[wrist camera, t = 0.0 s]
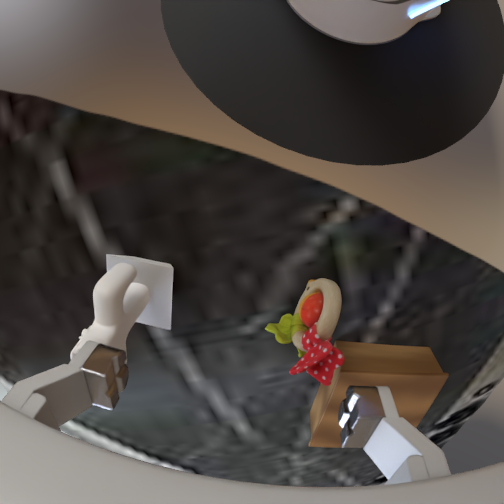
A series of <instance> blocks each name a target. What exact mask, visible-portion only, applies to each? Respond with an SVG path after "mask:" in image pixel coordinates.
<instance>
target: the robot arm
mask: <svg viewBox="0 0 504 504" xmlns="http://www.w3.org/2000/svg"><path fill="white" fill-rule="evenodd" d="M286 1H287V2H288V4H289V5H290V6H291V8H292V9H293V10H294V11H295V13H296V14H297V15H298V16H299V17H300V18H301V19H302V20H304V21H305V22H306V23H307V24H309V25H310V26H312V27H313V28H315V29H316V30H318V31H320V32H321V33H323V34H325V35H327V36H330V37H332V38H335V39H337V40H341V41H344V42H348V43H353V44H360V45H377V44H384V43H388V42H391V41H394V40H396V39H398V38H400V37H402V36H403V35H405V34H406V33H407V32H408V31H409V30H410V29H411V28H412V27H413V26H414V25H415V24H417V23H418V22H422V21H427V20H430V19H433V18H435V17H437V16H438V15H439V13H440V12H441V7H440V4H442V3H444V2H446V1H448V0H286ZM126 359H127V357H126V352H125V351H124V350H122V349H118V348H115V347H112V346H108V345H105V344H102V343H97V342H94V341H91V340H89V341H86V343H85V344H84V345H83V346H82V348H81V349H80V350H79V351H78V353H77V354H76V355H75V356H74V358H73V359H72V360H71V361H70V363H69V364H68V365H67V364H63V365H60V366H58V367H55V368H53V369H50V370H48V371H45V372H42V373H40V374H37V375H35V376H32V377H29V378H27V379H24V380H21V381H19V382H17V383H16V384H15V385H14V386H13V387H12V389H11V390H10V391H9V392H8V393H7V395H6V396H5V397H4V398H3V400H2V401H0V504H504V462H500V463H497V464H493V465H490V466H486V467H483V468H479V469H475V470H471V471H467V472H463V473H458V474H454V475H451V473H450V470H449V467H448V464H447V461H446V458H445V455H444V452H443V451H442V450H441V449H440V448H439V447H438V446H436V445H435V444H434V443H433V442H432V441H430V440H429V439H428V438H427V437H426V436H424V435H423V434H422V433H421V432H420V431H418V430H417V429H416V428H415V427H414V426H413V425H411V424H410V423H409V422H408V421H407V420H405V419H404V418H403V417H399V414H398V411H397V408H396V405H395V402H394V400H393V397H392V394H391V391H390V388H389V387H388V386H356V385H350V386H349V387H348V388H347V391H346V397H347V398H345V399H344V400H342V402H341V404H340V407H339V412H338V422H339V425H340V426H341V427H342V428H343V429H342V431H341V433H340V437H341V444H342V447H346V448H363V449H364V450H365V452H366V453H367V454H368V455H369V457H370V458H371V459H372V460H373V462H374V463H375V464H376V465H377V467H378V468H379V469H380V470H381V472H382V473H383V474H384V475H385V476H386V478H387V479H388V481H387V482H386V483H385V484H384V485H373V486H356V487H298V486H281V485H268V484H258V483H249V482H241V481H234V480H227V479H220V478H214V477H209V476H203V475H198V474H193V473H188V472H184V471H179V470H175V469H171V468H167V467H163V466H159V465H155V464H151V463H148V462H144V461H141V460H137V459H134V458H131V457H127V456H124V455H121V454H118V453H115V452H112V451H109V450H106V449H103V448H101V447H98V446H95V445H92V444H90V443H87V442H85V441H82V440H80V439H77V438H75V437H72V436H70V435H67V434H65V433H63V432H61V430H60V428H59V426H61V425H62V424H64V423H66V422H67V421H69V420H71V419H72V418H74V417H75V416H77V415H79V414H80V413H82V412H84V411H85V410H87V409H88V408H90V407H92V406H93V405H96V406H99V407H103V408H106V409H109V410H113V409H114V408H115V406H116V404H117V402H118V400H119V394H118V393H119V392H121V391H123V390H124V389H125V387H126V385H127V381H128V376H129V371H128V367H127V365H126V364H125V363H124V362H125V361H126Z"/></svg>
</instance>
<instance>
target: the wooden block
mask: <svg viewBox="0 0 504 504" xmlns="http://www.w3.org/2000/svg"><path fill="white" fill-rule="evenodd" d="M333 347H335V348H337V349H339V350H340V351H341V352H342V353H343V356H344V358H345V361H344V364H343V365H341V366H340V367H338V368H336V369H335V370H334V374H333V378H332V382H331V384H330V385H329V386H325V385H323V384H322V383H321V384H320V387H319V389H318V392H317V395H316V397H315V400H314V403H313V405H312V408H311V411H310V421H311V440H310V442H309V446H311V447H342V444H341V437H340V433H341V431H342V429H343V428H342V427H341V426H340V425H339V422H338V412H339V407H340V404H341V402H342V400H344V399H345V398H347V397H346V391H347V388H348V387H349V386H350V385H356V386H388V387H389V388H390V391H391V394H392V397H393V400H394V402H395V405H396V408H397V411H398V414H399V417H403V418H404V419H405V420H407V421H408V422H409V423H410V424H411V425H413V426H414V427H415V428H416V427H417V425H418V424H419V423H420V421H421V420H422V418H423V417H424V415H425V414H426V412H427V411H428V409H429V407H430V406H431V404H432V403H433V401H434V400H435V398H436V396H437V395H438V393H439V391H440V390H441V388H442V386H443V385H444V383H445V381H446V380H447V378H448V376H449V375H448V373H443V371H442V369H441V367H440V366H439V364H438V362H437V360H436V358H435V356H434V355H433V353H432V351H431V349H430V347H417V346H399V345H384V344H371V343H359V342H348V341H338V340H335V343H334V346H333ZM345 448H346V447H345Z"/></svg>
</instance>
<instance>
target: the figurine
mask: <svg viewBox="0 0 504 504" xmlns="http://www.w3.org/2000/svg"><path fill="white" fill-rule="evenodd" d="M173 271H174V268H173V267H172V266H171V264H168V263H163V262H158V261H153V260H148V259H143V258H138V257H133V256H121V255H109V254H107V273H106V274H105V275H104V276H103V277H102V278H101V279H100V280H99V281H98V282H97V284H96V286H95V288H94V291H93V301H94V311H95V320H94V322H93V324H92V326H90V327H89V328H88V329H84V330H83V331H82V337H81V336H80V337H79V339H80V340H79V342H78V343H77V344H76V346H75V347H74V348H73V350H72V351H71V355H70V357H71V360H72V359H73V358H74V356H75V355H76V354H77V353H78V351H79V350H80V349H81V348H82V346H83V345H84V344H85V343H86V341H89V340H91V341H94V342H97V343H102V344H105V345H108V346H112V347H115V348H118V349H122V350H124V351H125V352H126V338H127V335H128V333H129V331H130V329H131V327H132V326H133V324H134V323H135V322H139V323H143V324H147V325H151V326H155V327H159V328H164V329H168V330H171V309H172V288H173ZM126 357H127V354H126ZM126 362H127V359H126V361H125V362H124V363H125V364H126Z"/></svg>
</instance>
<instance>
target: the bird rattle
mask: <svg viewBox="0 0 504 504" xmlns="http://www.w3.org/2000/svg"><path fill="white" fill-rule="evenodd" d="M341 304H342V298H341V292H340V289H339V287H338V285H337V284H336V283H335V282H334V281H332V280H329V279H325V278H320V279H317V280H309V282H308V284H307V287H306V289H305V291H304V293H303V294H302V296H301V298H300V300H299V302H298V305H297V307H296V310H295V313H294V315H293V316H292V315H291V314H286V315H283V316H282V318H281V320H280V322H279V323H278V324H272V323H269V324H268V325H267V327H266V328H265V329H266V330H267V331H268V332H271V333H274V334H275V338H276V340H277V341H278V342H279V343H282V344H287V343H290V342H292V341H293V343H294V345H295V346H296V347H297V349H298V352H299V354H298V355H299V357H302V356H303V355H304V354H305V353H306V352H307V353H306V354H305V355H304V356H303V357H302V358H301V359H300V360H299V361H298V363H297V364H296V365H294V366H293V367H292V368H291V370H290V371H289V373H290V374H291V375H295V374H297V373H302V372H304V371H306V370H307V373H309V374H310V375H312V376H313V377H314V378H316V379H317V380H318V381H319V382H320V383H322V384H323V385H325V386H329V385H330V384H331V382H332V378H333V374H334V370H335V369H336V368H338V367H340V366H341V365H343V364H344V361H345V358H344V356H343V353H342V352H341V351H340V350H339V349H337V348H335V347H333V346H332V344H331V342H330V341H331V339H332V333H333V332H334V329H335V327H336V325H337V322H338V319H339V316H340V311H341Z"/></svg>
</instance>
